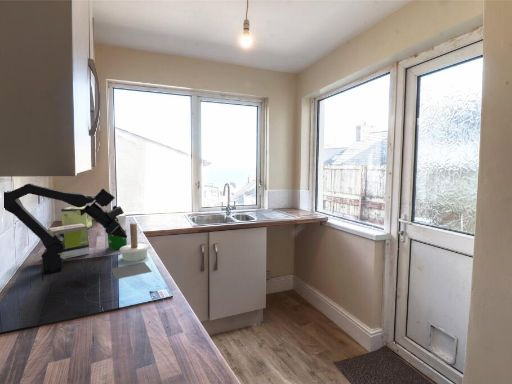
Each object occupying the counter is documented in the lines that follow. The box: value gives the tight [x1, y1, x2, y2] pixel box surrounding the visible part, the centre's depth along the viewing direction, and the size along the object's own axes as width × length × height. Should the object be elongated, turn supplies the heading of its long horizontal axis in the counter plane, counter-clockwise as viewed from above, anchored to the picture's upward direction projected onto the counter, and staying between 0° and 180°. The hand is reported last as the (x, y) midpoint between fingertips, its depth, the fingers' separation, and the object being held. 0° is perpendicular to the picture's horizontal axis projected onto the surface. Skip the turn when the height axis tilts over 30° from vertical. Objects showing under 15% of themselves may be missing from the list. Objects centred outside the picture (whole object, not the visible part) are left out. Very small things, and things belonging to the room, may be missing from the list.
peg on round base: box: [119, 222, 150, 254], centre depth 139 cm, size 13×13×12 cm
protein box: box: [60, 205, 93, 230], centre depth 200 cm, size 10×16×16 cm
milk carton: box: [107, 213, 128, 251], centre depth 156 cm, size 9×9×20 cm
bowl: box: [121, 249, 148, 262], centre depth 140 cm, size 11×11×4 cm
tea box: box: [47, 224, 91, 260], centre depth 144 cm, size 15×10×15 cm
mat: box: [110, 261, 153, 280], centre depth 123 cm, size 14×14×1 cm
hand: (125, 235), depth 137 cm, fingers open, 9 cm apart
